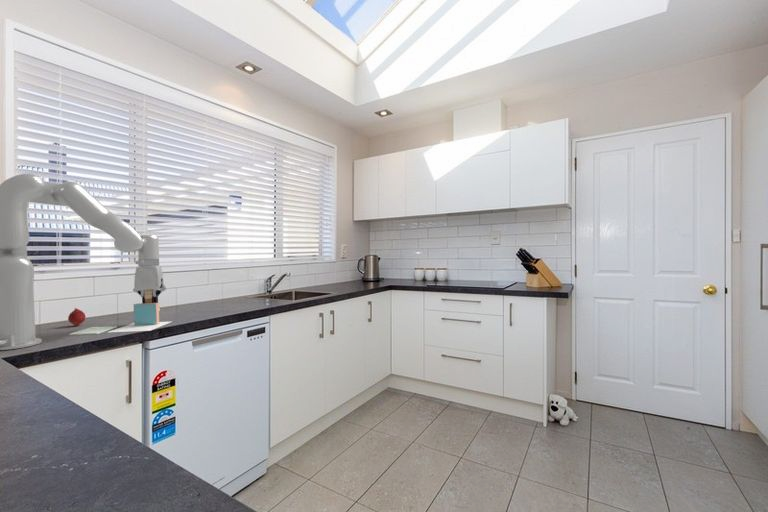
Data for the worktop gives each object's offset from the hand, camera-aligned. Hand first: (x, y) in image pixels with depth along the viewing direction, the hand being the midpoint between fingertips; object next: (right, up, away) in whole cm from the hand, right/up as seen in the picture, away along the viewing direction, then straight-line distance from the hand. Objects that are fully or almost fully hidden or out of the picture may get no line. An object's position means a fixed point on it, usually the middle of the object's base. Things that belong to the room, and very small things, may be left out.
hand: (150, 305), depth 157 cm
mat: (+1, -9, -7) cm, 11 cm away
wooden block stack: (0, -3, 0) cm, 3 cm away
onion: (-33, -9, +1) cm, 34 cm away
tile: (+1, -8, -3) cm, 8 cm away
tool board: (-13, -9, -14) cm, 21 cm away
